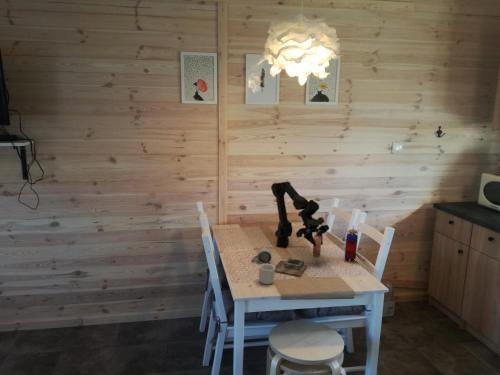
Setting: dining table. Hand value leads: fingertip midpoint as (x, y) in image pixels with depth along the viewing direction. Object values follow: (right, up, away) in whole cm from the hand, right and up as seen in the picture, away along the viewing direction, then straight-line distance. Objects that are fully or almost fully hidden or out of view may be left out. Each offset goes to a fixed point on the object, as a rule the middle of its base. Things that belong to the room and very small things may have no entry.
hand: (318, 245), depth 211 cm
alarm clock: (+19, -10, +16) cm, 27 cm away
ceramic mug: (-30, -10, +8) cm, 33 cm away
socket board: (-15, -13, -1) cm, 20 cm away
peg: (-1, -6, +3) cm, 7 cm away
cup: (-29, -15, -15) cm, 36 cm away
